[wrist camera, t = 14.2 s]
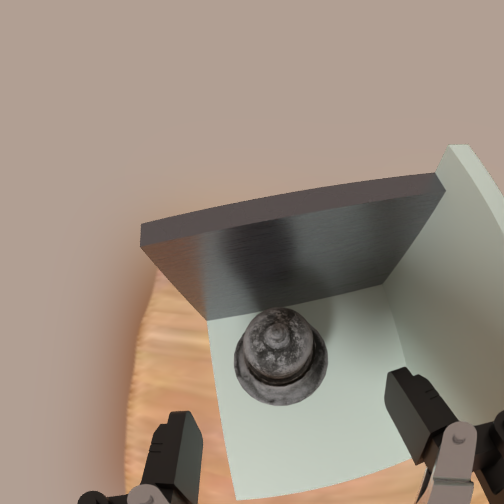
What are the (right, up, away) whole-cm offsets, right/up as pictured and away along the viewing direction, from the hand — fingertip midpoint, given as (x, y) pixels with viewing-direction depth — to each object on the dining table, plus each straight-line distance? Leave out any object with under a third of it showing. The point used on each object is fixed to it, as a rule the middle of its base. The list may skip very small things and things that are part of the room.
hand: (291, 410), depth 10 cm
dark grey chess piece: (+1, -2, +10) cm, 10 cm away
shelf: (+4, -4, +11) cm, 12 cm away
